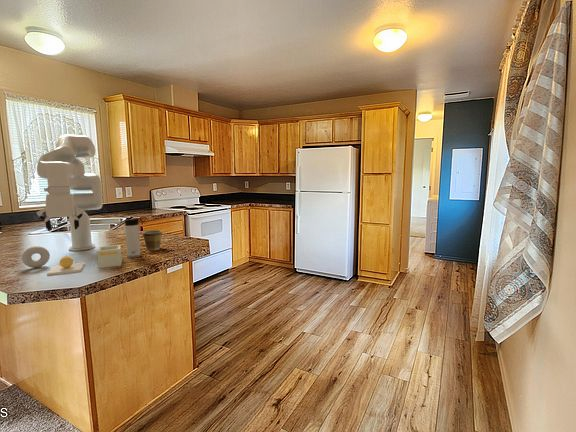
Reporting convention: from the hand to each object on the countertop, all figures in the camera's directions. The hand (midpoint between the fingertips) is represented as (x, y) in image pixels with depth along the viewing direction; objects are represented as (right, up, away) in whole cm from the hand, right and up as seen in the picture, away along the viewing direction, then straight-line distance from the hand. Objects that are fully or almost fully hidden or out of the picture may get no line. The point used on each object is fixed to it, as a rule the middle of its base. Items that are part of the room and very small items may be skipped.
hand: (63, 229), depth 136 cm
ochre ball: (0, -15, +2) cm, 15 cm away
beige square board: (0, -18, +3) cm, 18 cm away
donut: (-16, -18, +6) cm, 25 cm away
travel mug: (+19, -15, +25) cm, 35 cm away
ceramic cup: (+21, -13, +41) cm, 48 cm away
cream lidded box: (+15, -17, +11) cm, 25 cm away
